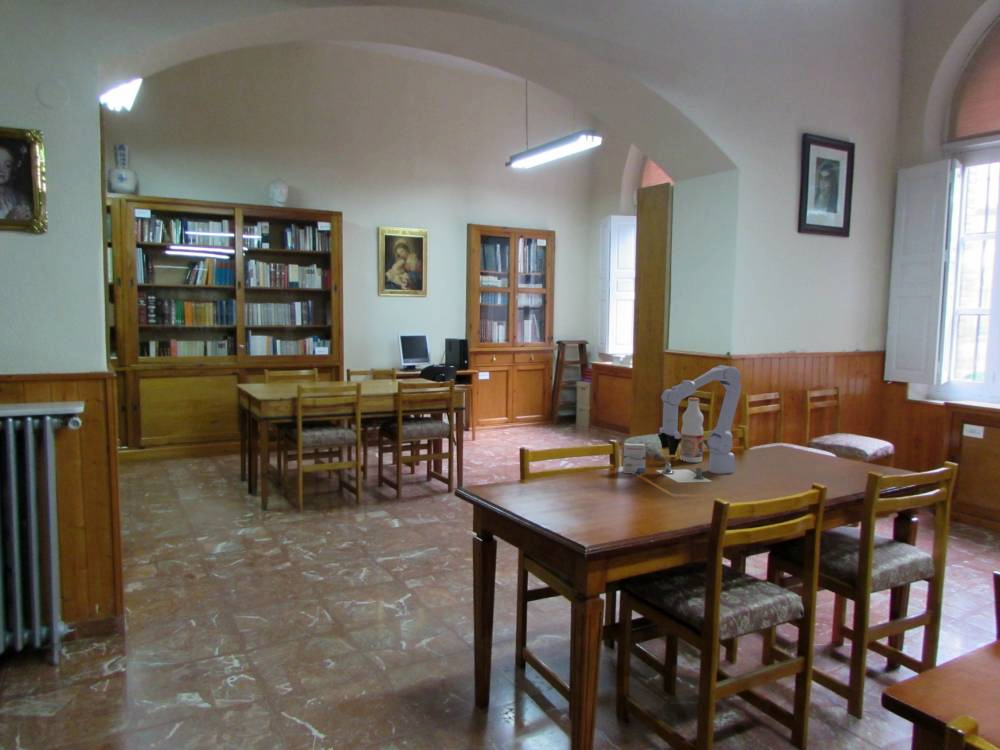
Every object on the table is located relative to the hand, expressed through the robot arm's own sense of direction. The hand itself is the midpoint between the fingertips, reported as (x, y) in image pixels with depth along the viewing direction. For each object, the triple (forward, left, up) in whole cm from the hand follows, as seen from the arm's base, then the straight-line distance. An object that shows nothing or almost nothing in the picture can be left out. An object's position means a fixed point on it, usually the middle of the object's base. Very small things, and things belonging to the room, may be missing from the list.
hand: (668, 453), depth 265 cm
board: (-4, +5, -9) cm, 11 cm away
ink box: (+12, -6, -9) cm, 16 cm away
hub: (0, 0, -9) cm, 9 cm away
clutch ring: (0, 0, -1) cm, 1 cm away
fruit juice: (-23, -25, -9) cm, 35 cm away
